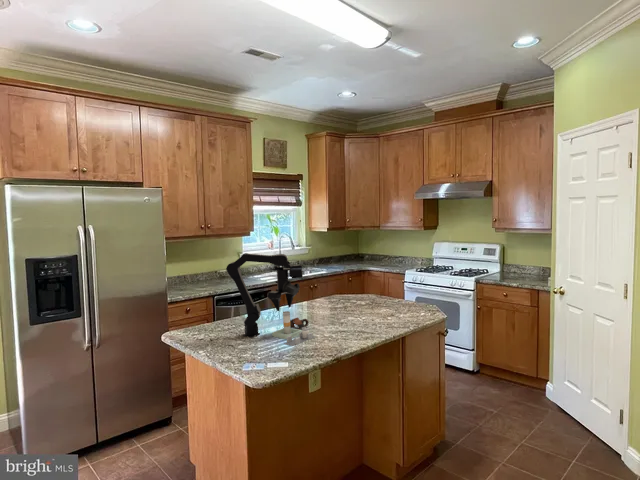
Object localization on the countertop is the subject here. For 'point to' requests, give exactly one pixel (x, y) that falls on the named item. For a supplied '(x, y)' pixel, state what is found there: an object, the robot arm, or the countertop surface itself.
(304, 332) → the cylinder
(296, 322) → the pottery mug
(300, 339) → the block
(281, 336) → the tray
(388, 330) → the countertop surface
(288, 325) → the banded fuse
